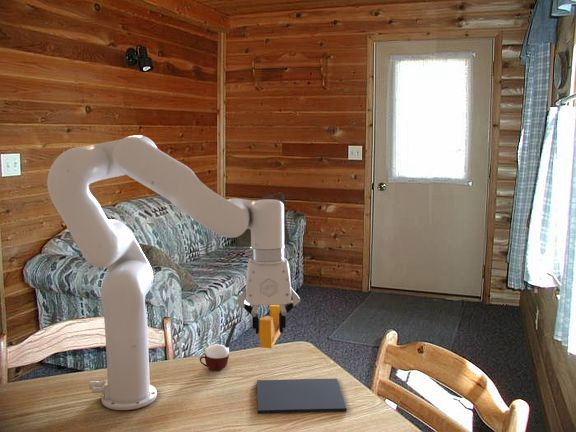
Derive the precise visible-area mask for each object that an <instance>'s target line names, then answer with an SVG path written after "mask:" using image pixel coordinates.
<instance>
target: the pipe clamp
mask: <svg viewBox="0 0 576 432" xmlns="http://www.w3.org/2000/svg"><path fill="white" fill-rule="evenodd" d="M279 313H280V307H279V305H269V315H264V316H261V317H260V318H259V333H258V339H259V348H261V349H273V347H274V345H275V344H276V342H277V340H278V339H279V337H280V335H281V334H282V333H281V332H280V330H279Z"/></svg>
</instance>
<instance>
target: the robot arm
mask: <svg viewBox="0 0 576 432" xmlns="http://www.w3.org/2000/svg"><path fill="white" fill-rule="evenodd" d="M123 176H127V177H129V178H131V179H133V180H134V181H136V182H137V183H139V184H140V185H143V186H144V187H146V188H148V189H150V190H151V191H153V192H155V193H156V194H158V195H160V196H161V197H163V198H164V199H166V200H167V201H168V202H170V203H171V204H173V206H174V207H176V208H178V209H179V210H180V211H181V212H183V213H184V214H185V215H187V216H188V217H190V218H191V219H192V220H194V221H195V222H197V223H198V224H200V225H202V226H203V227H205V228H207V229H208V230H210V231H212V232H214V234H217V235H219V236H221V237H223V238H226V239H227V238H228V239H235V238H238V237H240V236H242V235H243V234H244V233H245V232H246V231H247V230H250V247H249V248H248V249H244V256H245V257H250V259H249V260H248V262H247V267H246V275H245V276H246V278H245V279H246V282H245V288H244V290H243V291H242V292H241V294H240V295H239V296H238V297H237V300H236V304H237V305H239V306H240V307H241V308H243V309H244V310H245V311H246V312H247V313H248V314H249V315H250V316H251V317H252V330H255V334H258V335H259V327H260V317H259V313H258V311H259V306H270V305H279V307H280V313H279V330H280V332H281V334H283V333H284V329H286V328H287V323H286V322H287V320H286V316H287V315H288V313H289V312H291V310H292V309H293V308H294V307H295V306H297V305H298V304H299V303H300V302H301V297H300V296H299V295H298V294H297V293H296V291H295V290H294V289H293V287H292V283H291V280H292V279H291V270H290V264H289V260H288V259H287V258H285V205H284V203H283V202H282V201H281V200H279V199H270V198H267V199H265V198H264V199H257V200H253V199H245V198H239V197H238V198H235V197H232V198H228V199H227V198H225V197H224V196H221V195H220V194H218V193H217V192H215V191H214V190H212V189H210V187H208V186H207V185H206V184H204V183H203V182H202V181H201V180H200V179H199V177H198V176H197V175H196V174H195V172H194V171H193V170H192V169H191V167H188V165H186V164H184V163H182V162H181V161H180V160H177V159H175V158H174V157H172V156H170V155H168V154H167V153H166V152H164V151H162V150H160V149H159V148H158V146H157V145H156V143H155V142H154V141H153V140H152V139H151V138H149V137H147V136H145V135H141V134H138V135H137V134H135V135H129V136H126V137H124V138H122V139H116V140H110V141H106V142H99V143H93V144H88V145H82V146H75V147H72V148H68V149H67V150H65V151H63V152H62V153H60V155H58V156H57V157H56V158H55V160H54V161H53V163H52V164H51V166H50V168H49V171H48V174H47V179H46V180H47V182H46V185H47V190H48V195H49V198H50V199H51V203H52V204H53V205H54V207H55V209H56V211H57V212H58V214H59V216H60V217H61V219H62V221H63V222H64V224H65V226H66V229H67V230H68V232H69V233H70V236H71V238H72V240H73V241H74V242H75V244H76V246H77V248H78V249H79V251H80V253H81V255H82V256H83V258H84V260H85V261H86V262H87V263H88V264H89V265H91V266H93V267H95V268H99V269H100V268H107V270H108V272H109V273H108V274H107V275H106V276H105V278H104V280H103V281H102V284H101V286H100V287H101V288H100V301H101V303H100V304H101V307H102V313H103V322H104V337H105V358H106V377H107V379H103V380H101V381H99V380H90V381H89V386H88V387H89V388H88V389H89V390H91V393H92V394H101V393H102V394H101V397H100V398H101V399H100V400H101V404H102V405H103V406H104V407H105V408H108V409H110V410H115V411H130V410H137V409H140V408H141V409H142V408H145V407H146V406H148V405H151V404H152V403H154V401H156V398H158V397H157V396H158V392H157V388H156V387H155V386H153V385H151V381H150V379H151V377H150V356H149V355H150V352H149V351H150V350H149V326H148V316H147V315H148V314H147V308H146V297H147V294H148V293H149V291H150V290H151V288H152V286H153V284H154V280H155V279H154V278H155V277H154V271H153V268H152V265H151V264H150V262H149V260H148V258H147V257H146V255H145V253H144V252H143V249H142V248H141V246H140V244H139V243H138V240H137V239H136V237H135V235H134V234H133V232H132V231H131V230H130V228H129V227H128V226H127V225H126V224H124V223H123V222H122V221H120V220H117V219H112V218H111V219H108V217H107V215H106V213H105V212H104V210H103V208H102V207H101V204H100V203H99V201H98V200H97V199H96V197H95V196H94V195H93V193H91V190H90V185H91V184H93V183H96V182H99V181H103V180H108V179H113V178H118V177H123Z"/></svg>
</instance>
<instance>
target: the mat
mask: <svg viewBox="0 0 576 432" xmlns="http://www.w3.org/2000/svg"><path fill="white" fill-rule="evenodd" d="M256 394H257V395H256V399H257V401H256V402H257V403H256V404H257V414H262V415H263V414H264V415H265V414H298V413H299V414H301V413H302V414H303V413H339V412H340V413H343V412H345V413H346V412H347V411H348V409H347V405H346V403H345V398H344V396H343V393H342V390H341V386H340V383H339V379H338V378H337V377H336V378H297V379H296V378H295V379H257V380H256Z"/></svg>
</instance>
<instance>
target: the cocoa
mask: <svg viewBox="0 0 576 432" xmlns="http://www.w3.org/2000/svg"><path fill="white" fill-rule="evenodd" d="M237 324H238V322H237V321H236V320H234V321H233V322H232V327H231V328H230V332H229V333H228V336H227V339H226V341H225V343H224V345H223V344H220V343H219V344H218V343H214V344H212V345H209V346H207V347H205V348H204V355H202V356H200V357H199V362H200V363H201V364H202V365H203V366H204V367H207V368H209V369H210V370H213V371H220V370H223V369H224V368H226V367H227V365H228V362H229V358H230V357H229V356H230V349H229V345H230V343H231V340H232V337H233V335H234V332H235V329H236V327H237ZM202 359H204V362H205V363H204V362H203V361H202Z"/></svg>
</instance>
